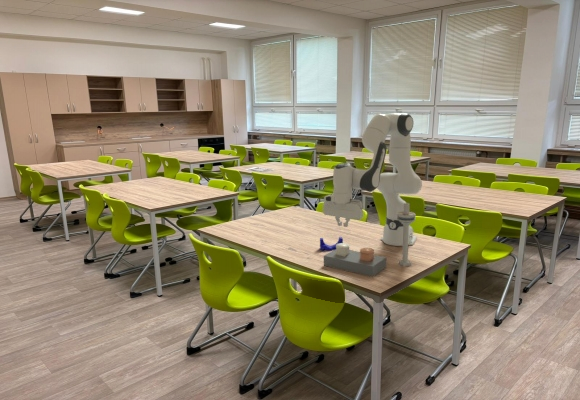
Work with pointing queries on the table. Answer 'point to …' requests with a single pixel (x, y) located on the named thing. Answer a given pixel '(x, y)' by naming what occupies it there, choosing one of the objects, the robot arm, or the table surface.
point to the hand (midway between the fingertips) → (342, 226)
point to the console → (355, 263)
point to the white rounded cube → (342, 249)
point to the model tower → (405, 232)
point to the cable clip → (329, 247)
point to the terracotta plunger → (366, 254)
